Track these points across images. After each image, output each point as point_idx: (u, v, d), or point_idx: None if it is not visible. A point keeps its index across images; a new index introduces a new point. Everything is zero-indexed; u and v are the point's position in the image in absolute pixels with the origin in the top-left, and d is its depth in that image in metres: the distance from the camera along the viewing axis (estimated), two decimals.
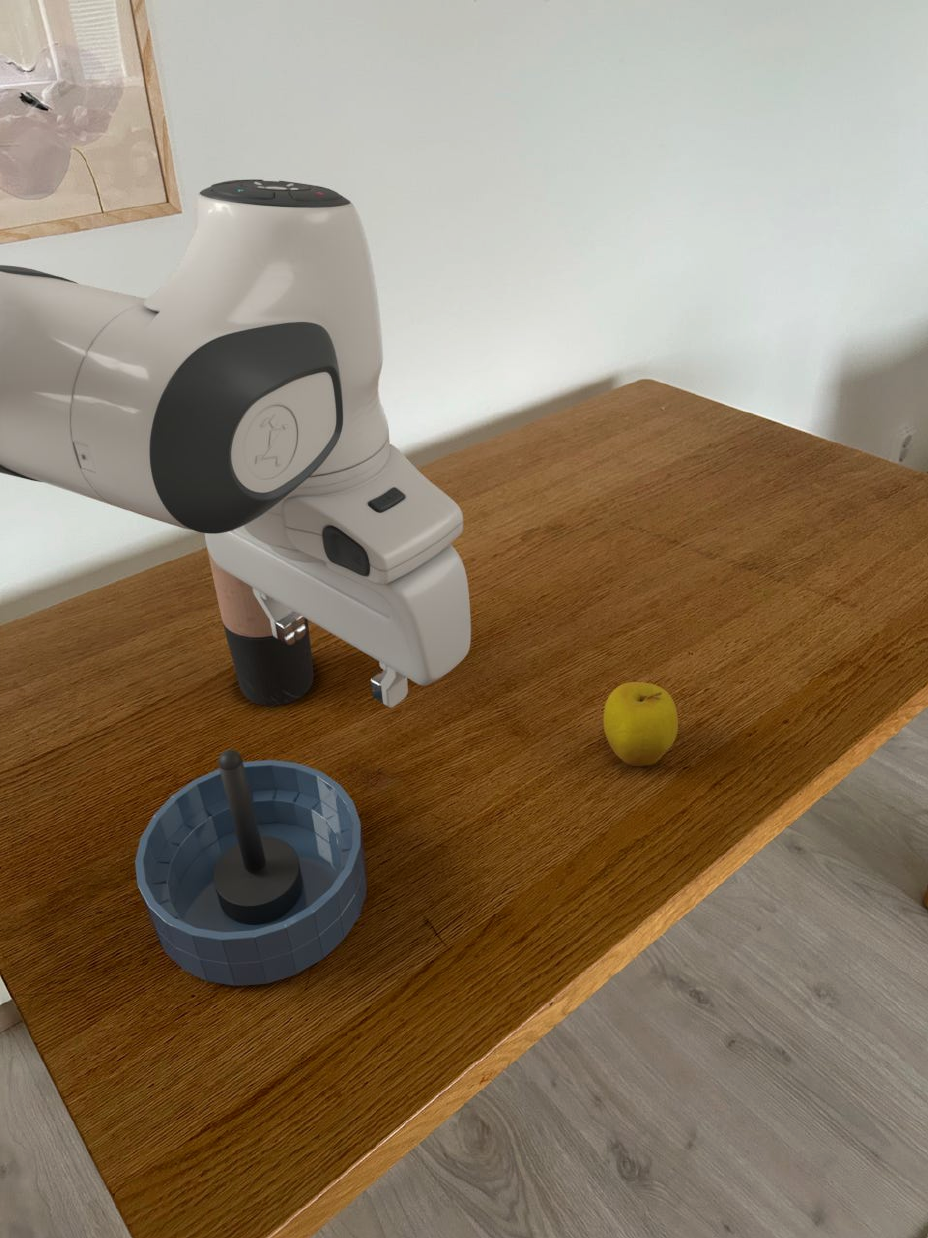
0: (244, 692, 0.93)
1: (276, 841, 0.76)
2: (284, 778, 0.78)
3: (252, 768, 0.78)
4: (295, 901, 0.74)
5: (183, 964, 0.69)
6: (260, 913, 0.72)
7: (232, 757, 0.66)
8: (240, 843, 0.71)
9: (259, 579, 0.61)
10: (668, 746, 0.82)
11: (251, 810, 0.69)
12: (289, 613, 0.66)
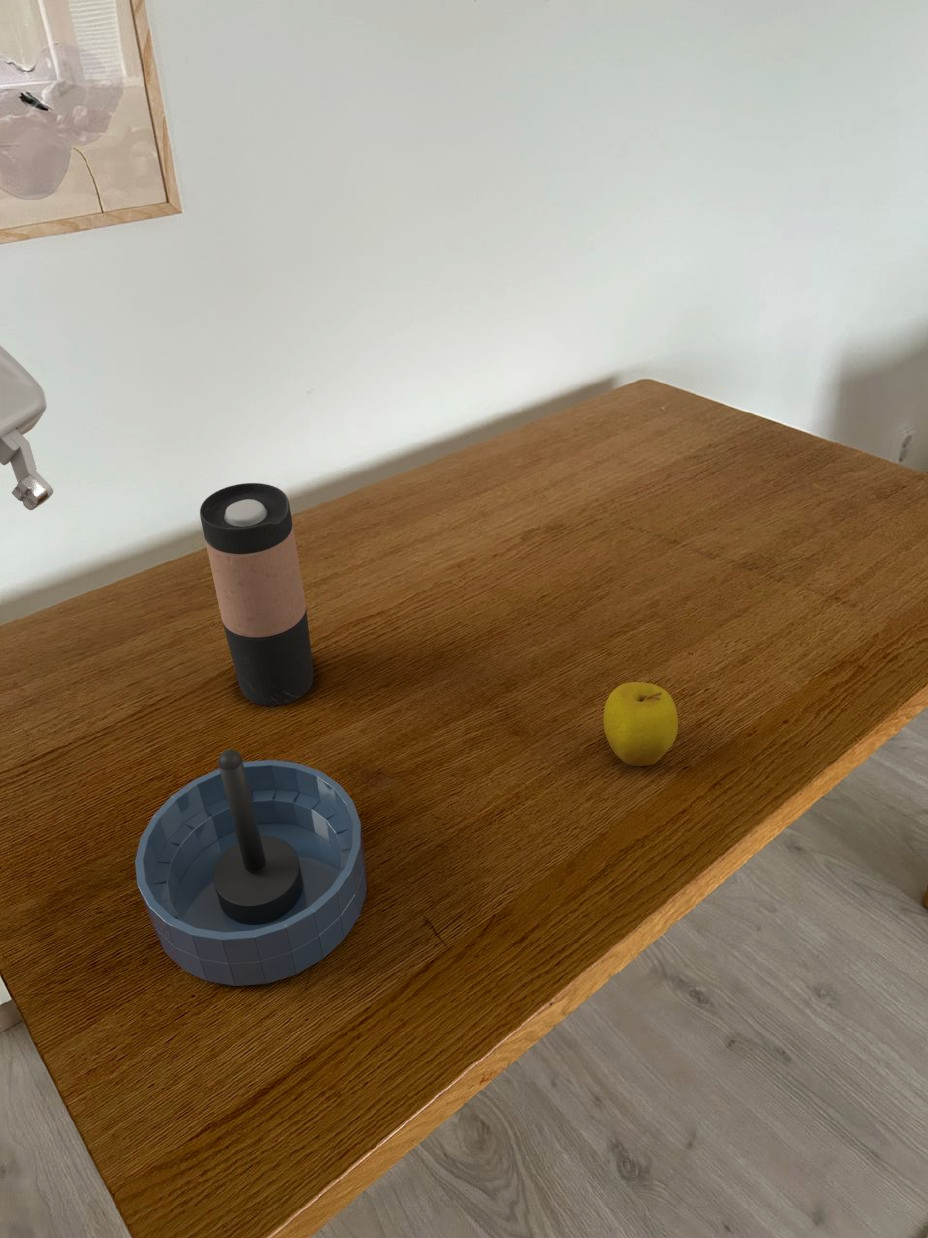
0: (244, 692, 0.93)
1: (276, 841, 0.76)
2: (284, 778, 0.78)
3: (252, 768, 0.78)
4: (295, 901, 0.74)
5: (183, 964, 0.69)
6: (260, 913, 0.72)
7: (232, 757, 0.66)
8: (240, 843, 0.71)
9: None
10: (668, 746, 0.82)
11: (251, 810, 0.69)
12: None
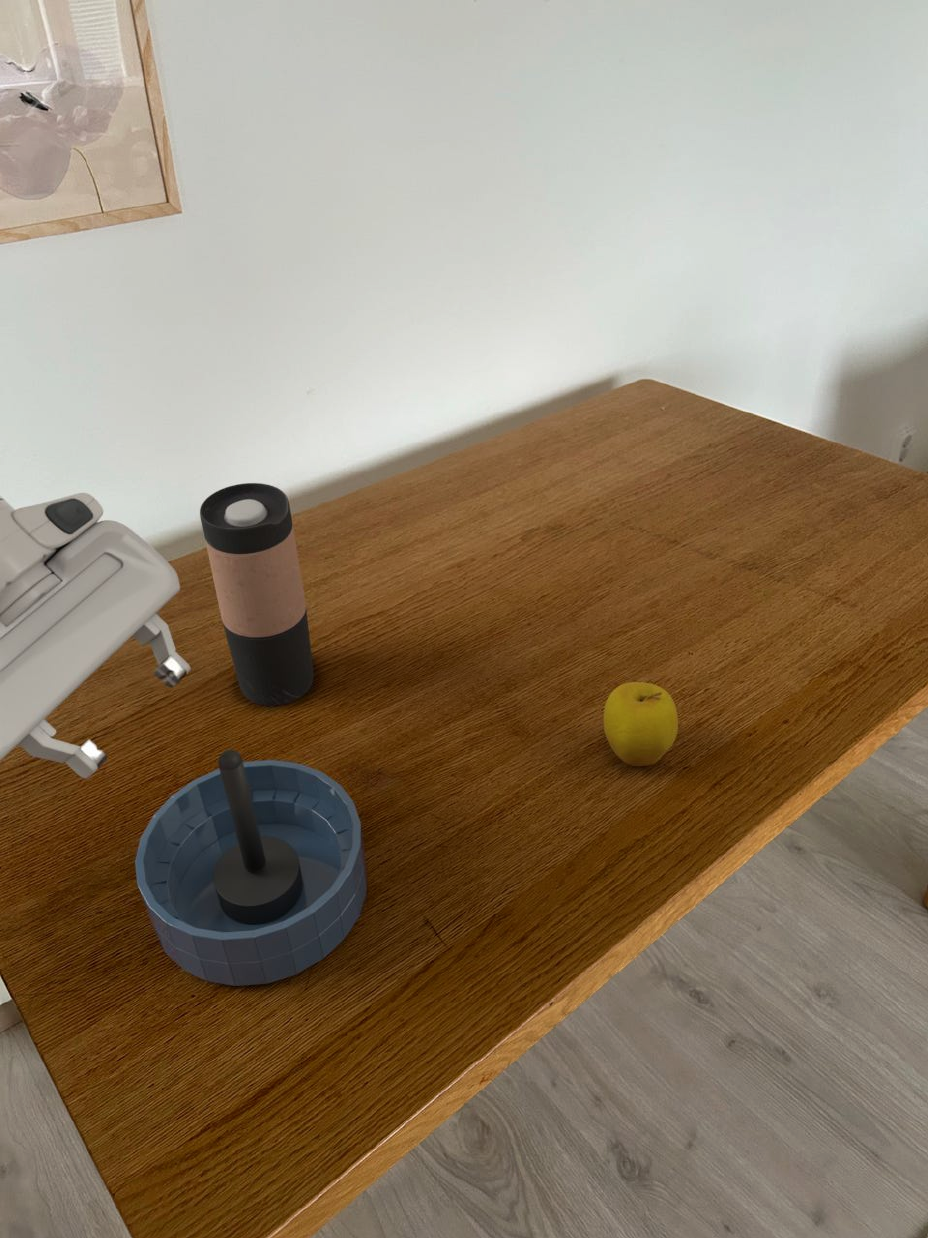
0: (244, 692, 0.93)
1: (276, 841, 0.76)
2: (284, 778, 0.78)
3: (252, 768, 0.78)
4: (295, 901, 0.74)
5: (183, 964, 0.69)
6: (260, 913, 0.72)
7: (232, 757, 0.66)
8: (240, 843, 0.71)
9: (39, 692, 0.62)
10: (668, 746, 0.82)
11: (251, 810, 0.69)
12: None
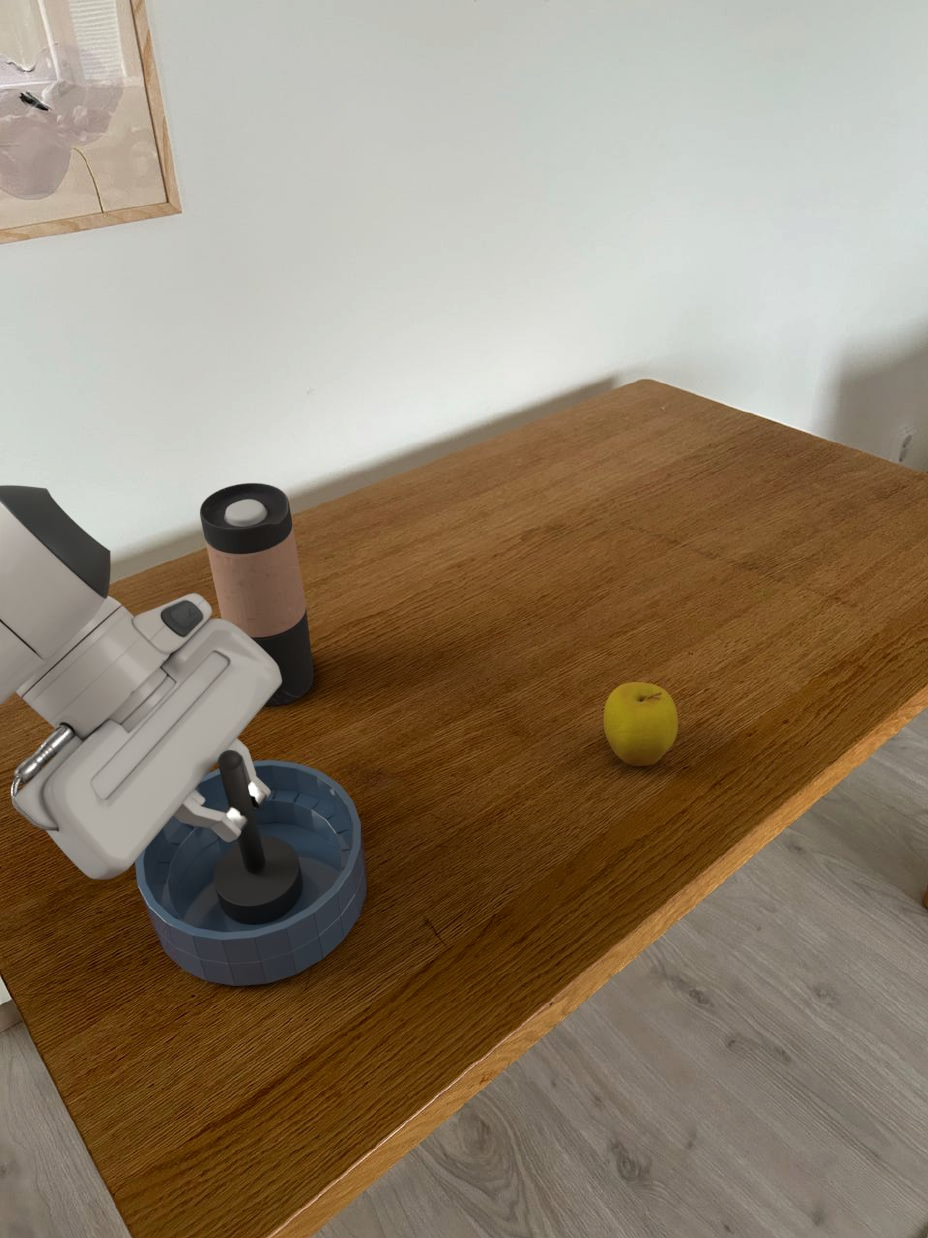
0: None
1: (276, 841, 0.76)
2: (284, 778, 0.78)
3: None
4: (295, 901, 0.74)
5: (183, 964, 0.69)
6: (260, 913, 0.72)
7: (232, 757, 0.66)
8: (240, 843, 0.71)
9: (161, 797, 0.64)
10: (668, 746, 0.82)
11: (251, 810, 0.69)
12: None
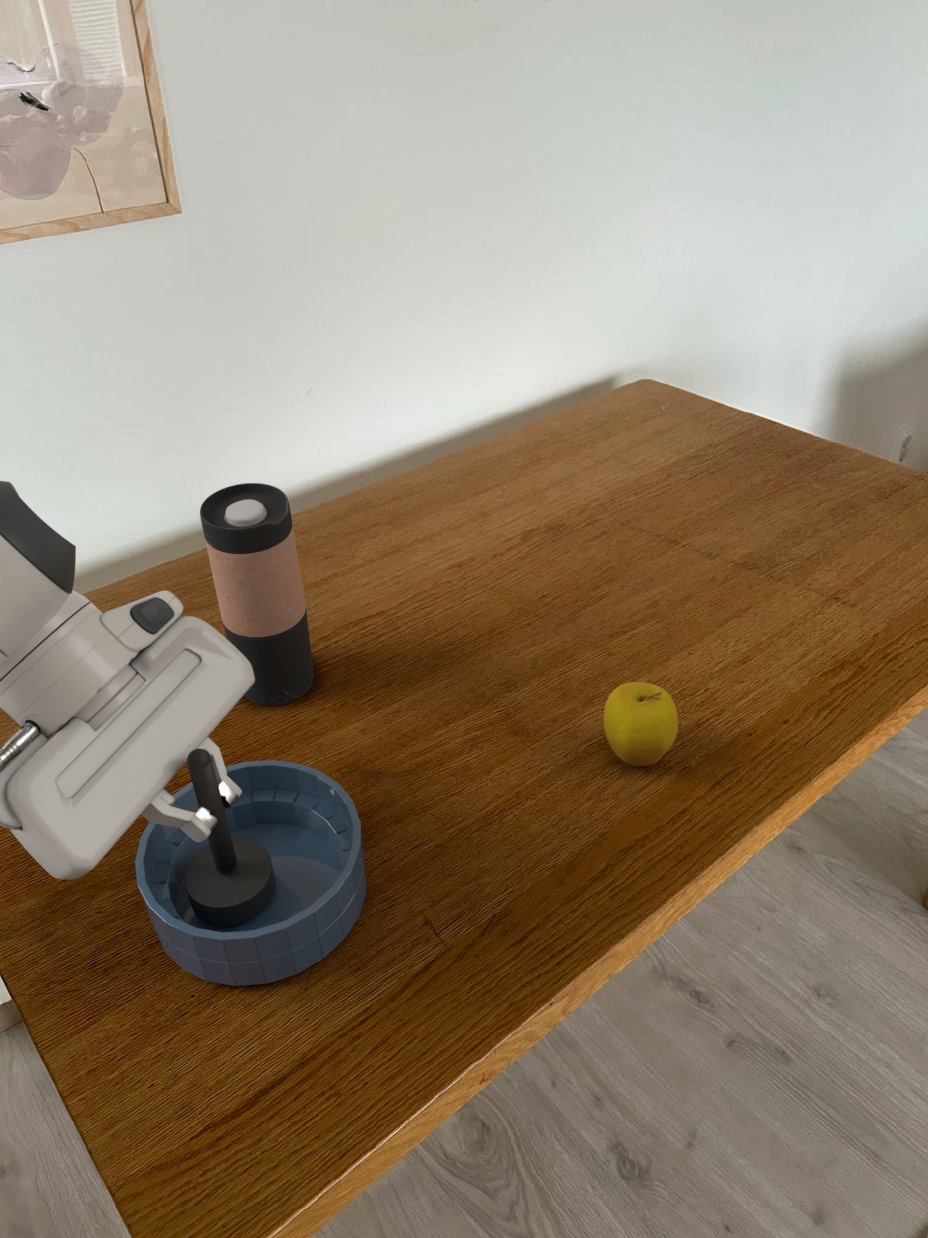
0: None
1: (249, 842, 0.75)
2: (284, 778, 0.78)
3: (252, 768, 0.78)
4: (267, 903, 0.73)
5: (183, 964, 0.69)
6: (231, 915, 0.71)
7: (201, 756, 0.65)
8: (210, 843, 0.70)
9: (128, 796, 0.63)
10: (668, 746, 0.82)
11: (221, 809, 0.68)
12: None
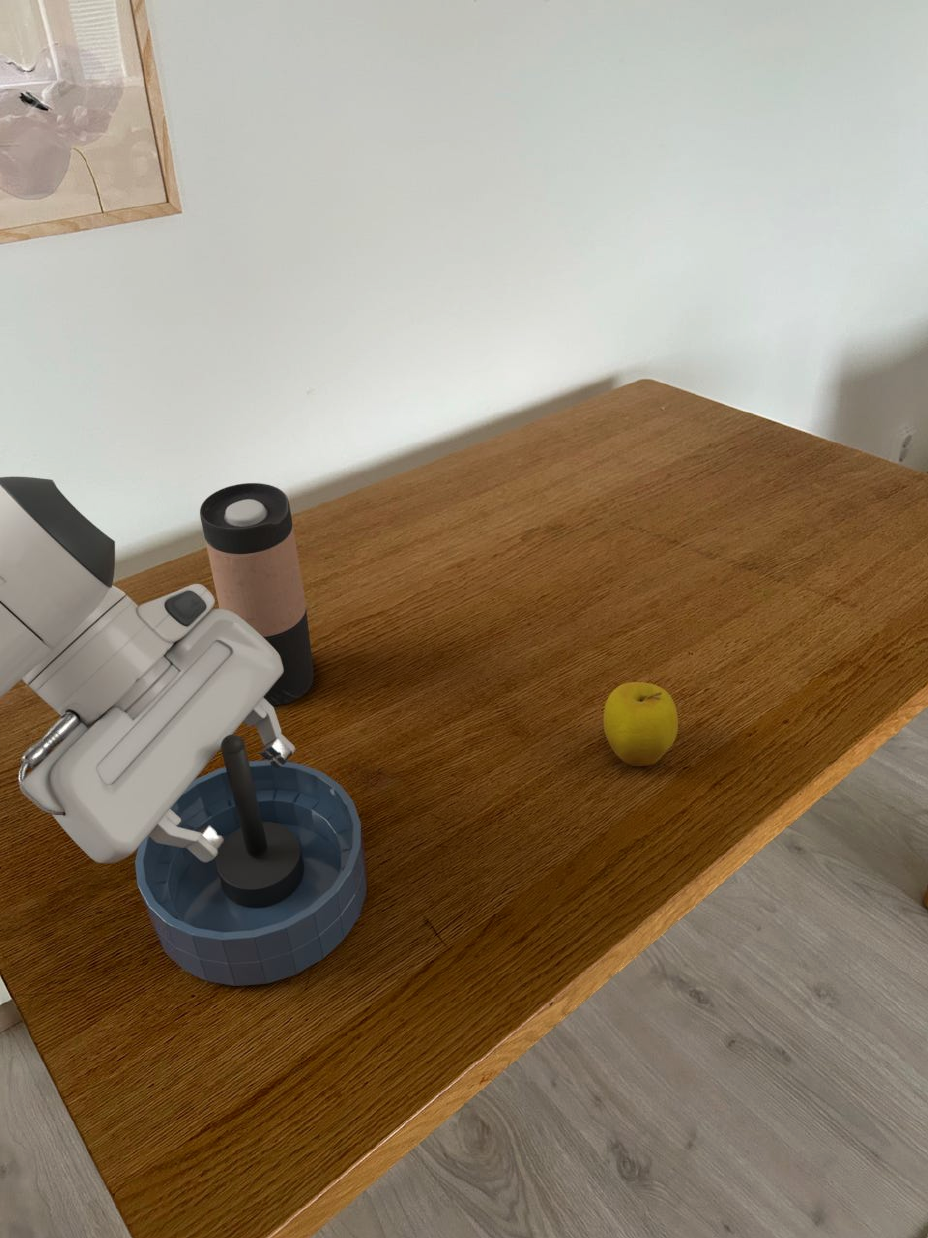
0: None
1: (278, 826, 0.77)
2: (284, 778, 0.78)
3: (252, 768, 0.78)
4: (296, 885, 0.75)
5: (183, 964, 0.69)
6: (262, 896, 0.73)
7: (235, 741, 0.67)
8: (242, 827, 0.72)
9: (165, 783, 0.65)
10: (668, 746, 0.82)
11: (253, 794, 0.70)
12: None
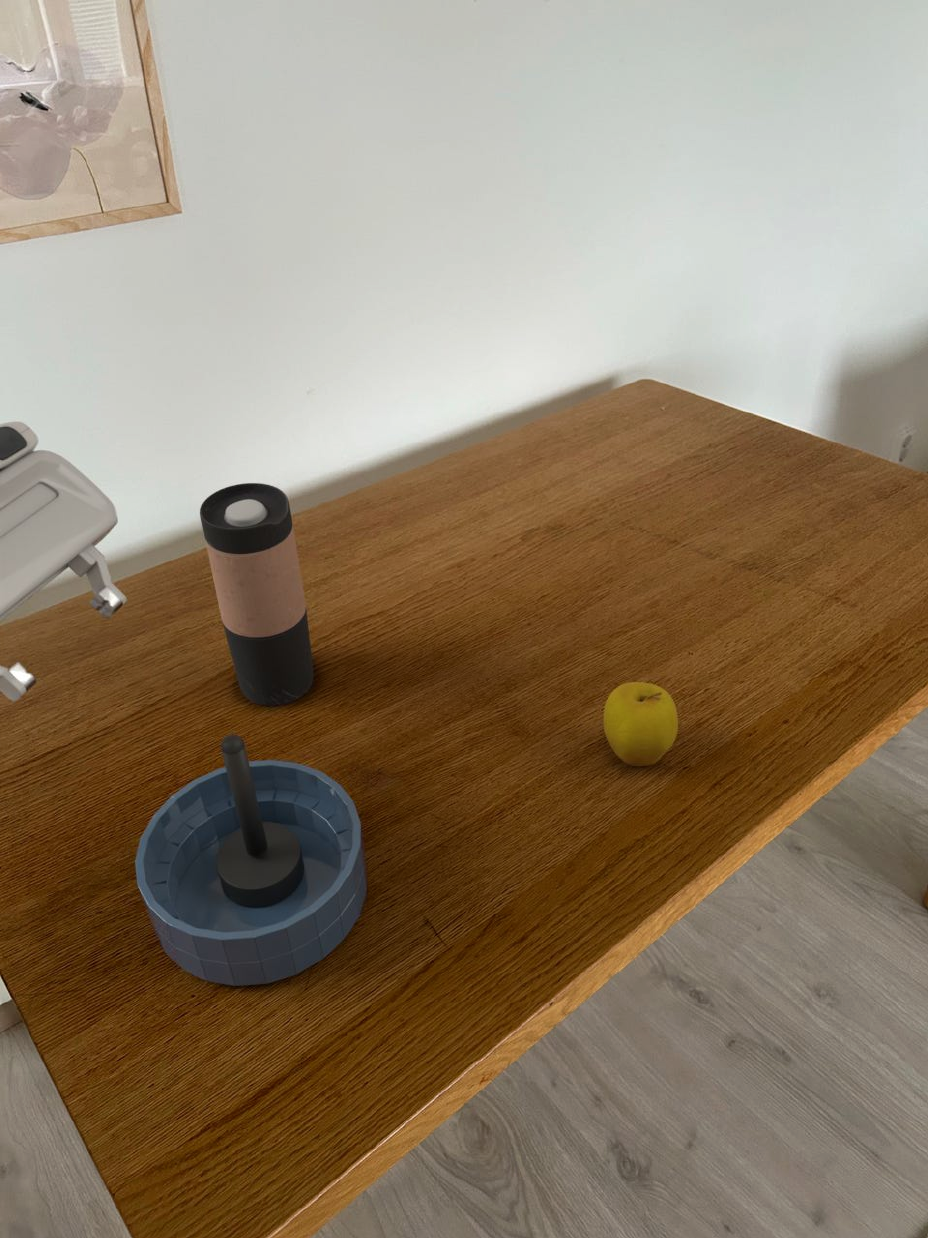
0: (244, 692, 0.93)
1: (278, 826, 0.77)
2: (284, 778, 0.78)
3: (252, 768, 0.78)
4: (296, 885, 0.75)
5: (183, 964, 0.69)
6: (262, 896, 0.73)
7: (235, 741, 0.67)
8: (242, 827, 0.72)
9: None
10: (668, 746, 0.82)
11: (253, 794, 0.70)
12: None
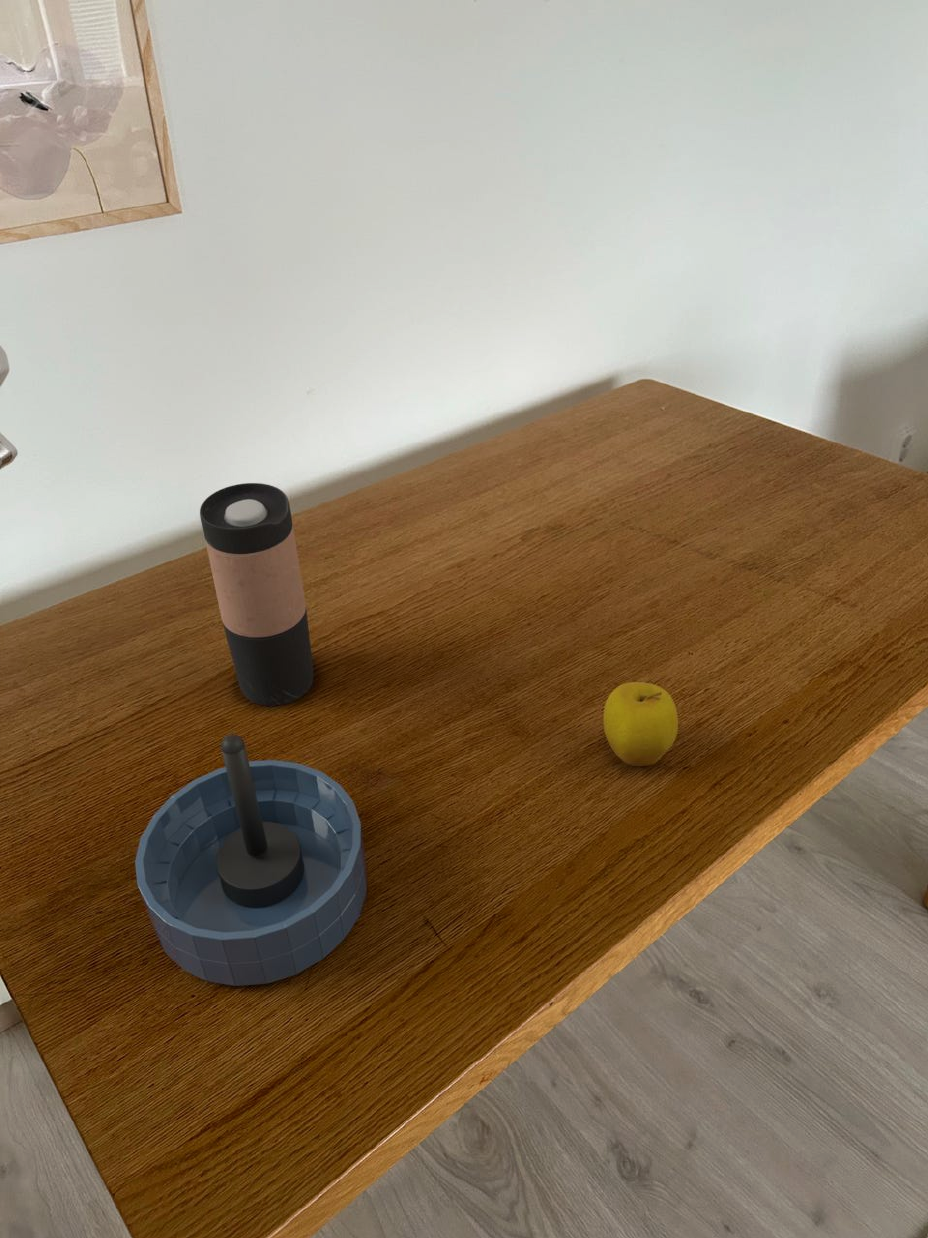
0: (244, 692, 0.93)
1: (278, 826, 0.77)
2: (284, 778, 0.78)
3: (252, 768, 0.78)
4: (296, 885, 0.75)
5: (183, 964, 0.69)
6: (262, 896, 0.73)
7: (235, 741, 0.67)
8: (242, 827, 0.72)
9: None
10: (668, 746, 0.82)
11: (253, 794, 0.70)
12: None
